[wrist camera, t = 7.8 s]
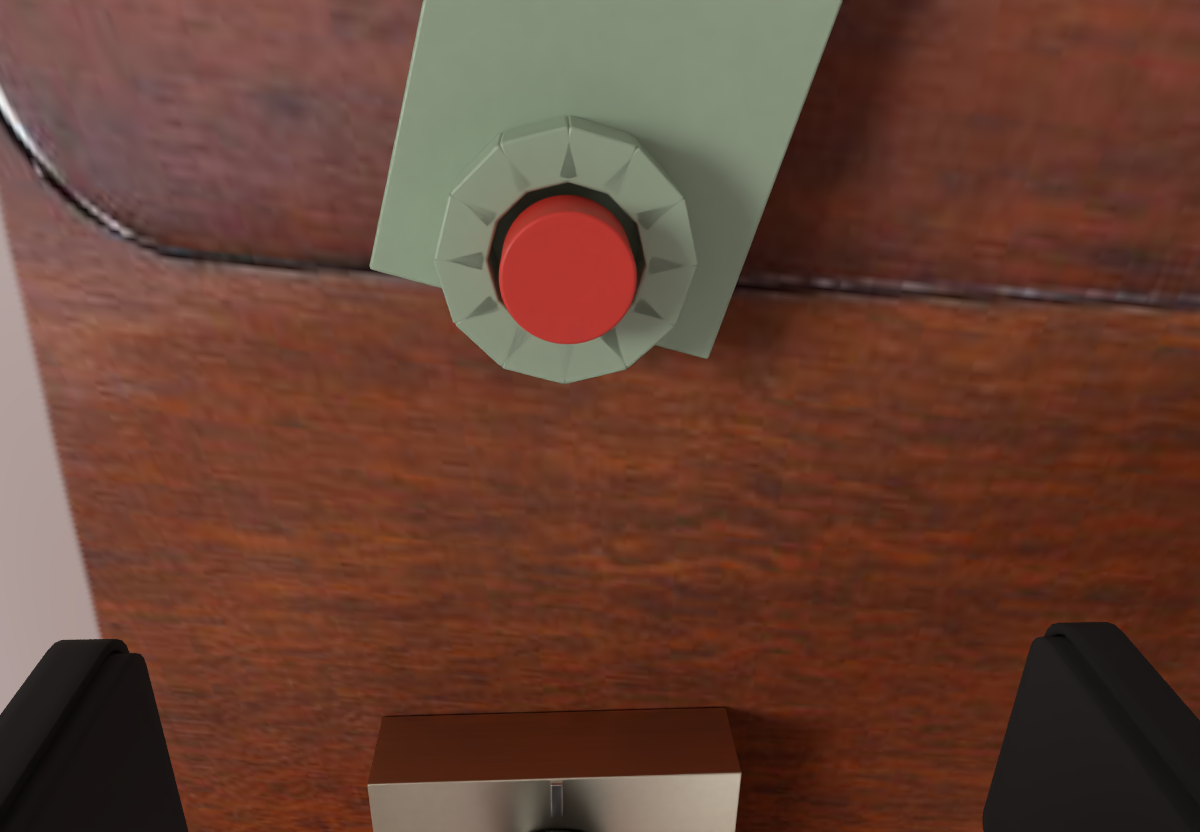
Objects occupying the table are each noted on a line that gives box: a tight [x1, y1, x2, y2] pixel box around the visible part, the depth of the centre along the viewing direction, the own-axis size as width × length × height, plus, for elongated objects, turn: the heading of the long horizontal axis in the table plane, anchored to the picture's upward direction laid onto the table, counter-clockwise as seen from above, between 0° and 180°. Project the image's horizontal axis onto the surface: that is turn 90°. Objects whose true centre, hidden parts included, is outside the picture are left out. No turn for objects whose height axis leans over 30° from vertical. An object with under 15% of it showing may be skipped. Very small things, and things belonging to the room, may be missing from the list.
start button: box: [499, 195, 637, 344], centre depth 21 cm, size 3×3×2 cm
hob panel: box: [368, 708, 742, 832], centre depth 32 cm, size 12×8×3 cm, turn 89°
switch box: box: [370, 0, 843, 384], centre depth 21 cm, size 17×9×4 cm, turn 163°
